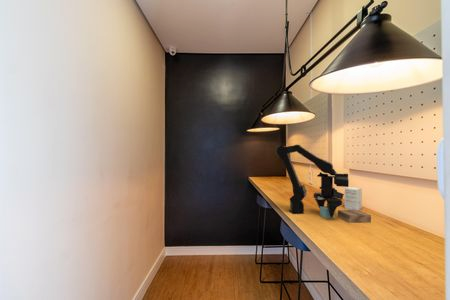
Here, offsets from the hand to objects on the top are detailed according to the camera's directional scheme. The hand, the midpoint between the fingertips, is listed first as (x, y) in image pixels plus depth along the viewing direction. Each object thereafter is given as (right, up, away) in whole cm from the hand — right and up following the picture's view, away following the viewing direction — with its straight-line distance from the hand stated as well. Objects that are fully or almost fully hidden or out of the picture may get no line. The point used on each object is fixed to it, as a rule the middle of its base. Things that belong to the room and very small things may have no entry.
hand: (326, 214), depth 119 cm
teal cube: (0, -1, 0) cm, 1 cm away
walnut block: (+11, -2, -5) cm, 13 cm away
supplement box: (+24, -2, +17) cm, 29 cm away
